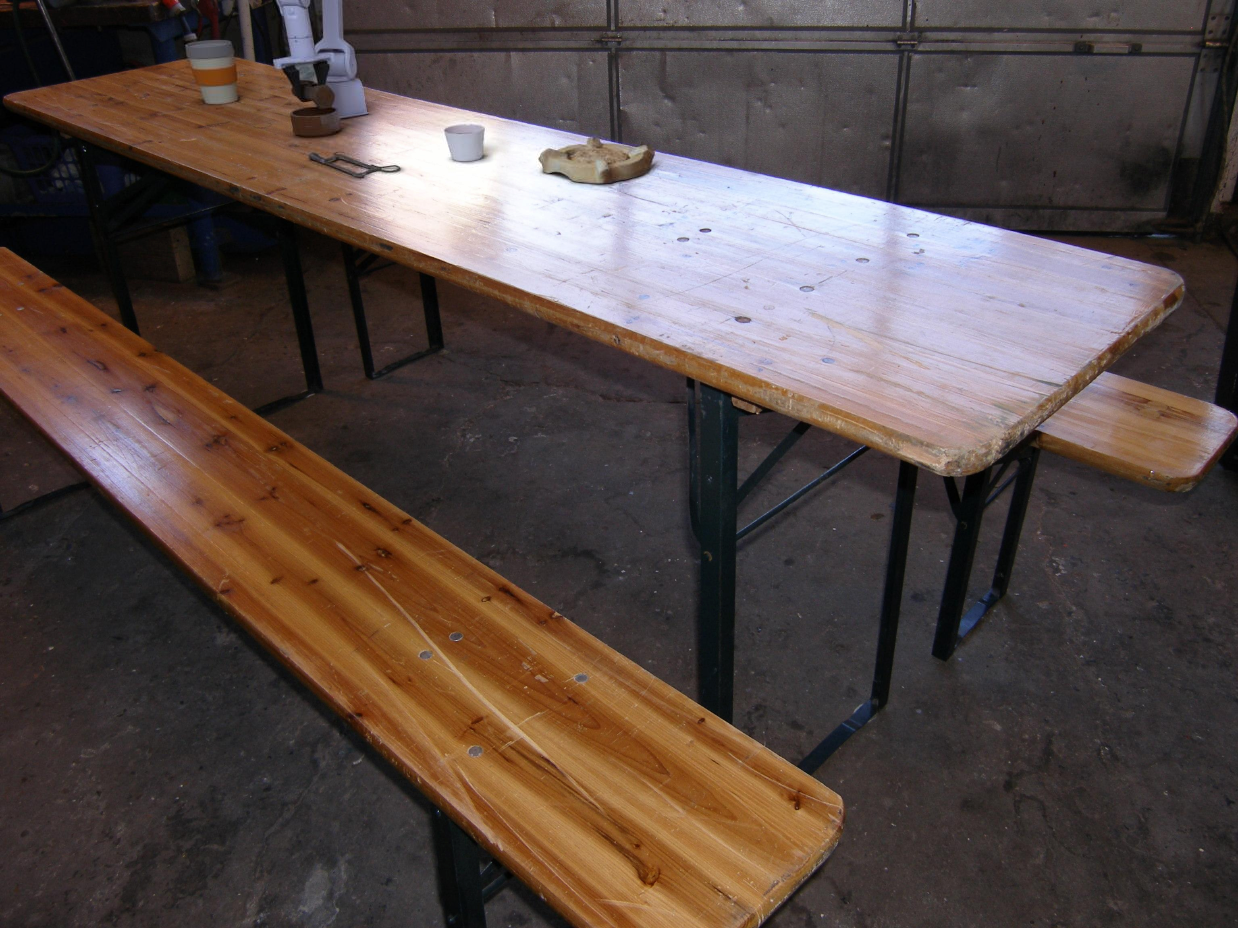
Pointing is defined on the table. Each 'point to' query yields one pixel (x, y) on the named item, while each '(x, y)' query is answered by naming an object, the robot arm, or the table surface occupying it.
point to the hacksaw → (371, 167)
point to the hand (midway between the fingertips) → (311, 96)
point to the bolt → (317, 95)
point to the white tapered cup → (465, 141)
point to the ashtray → (598, 161)
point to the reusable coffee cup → (214, 70)
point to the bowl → (315, 121)
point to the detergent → (307, 73)
